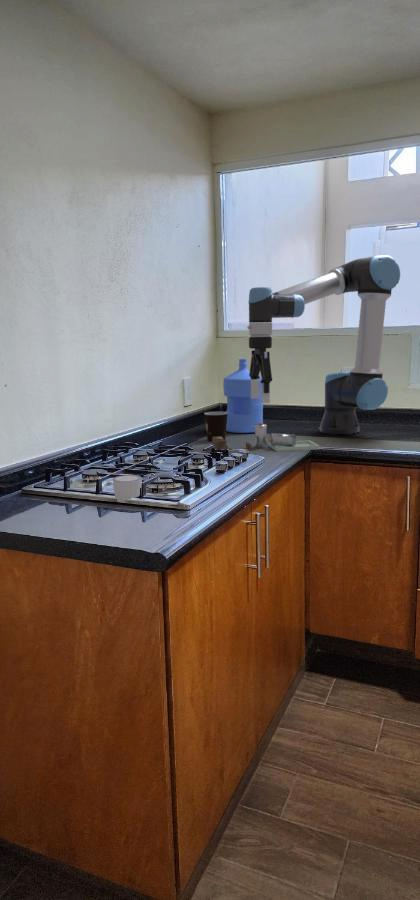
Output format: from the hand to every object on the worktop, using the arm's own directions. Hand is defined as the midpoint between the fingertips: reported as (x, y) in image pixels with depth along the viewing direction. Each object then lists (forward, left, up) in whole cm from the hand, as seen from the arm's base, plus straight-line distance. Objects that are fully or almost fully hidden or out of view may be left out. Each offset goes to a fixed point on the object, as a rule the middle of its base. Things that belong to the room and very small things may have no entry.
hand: (260, 400), depth 201 cm
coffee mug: (+11, -19, -16) cm, 28 cm away
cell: (0, 0, -16) cm, 16 cm away
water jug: (-3, -36, -16) cm, 40 cm away
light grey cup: (+47, +57, -16) cm, 76 cm away
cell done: (-11, +3, -14) cm, 18 cm away
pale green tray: (-11, +3, -16) cm, 20 cm away
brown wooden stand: (+9, +3, -16) cm, 19 cm away
